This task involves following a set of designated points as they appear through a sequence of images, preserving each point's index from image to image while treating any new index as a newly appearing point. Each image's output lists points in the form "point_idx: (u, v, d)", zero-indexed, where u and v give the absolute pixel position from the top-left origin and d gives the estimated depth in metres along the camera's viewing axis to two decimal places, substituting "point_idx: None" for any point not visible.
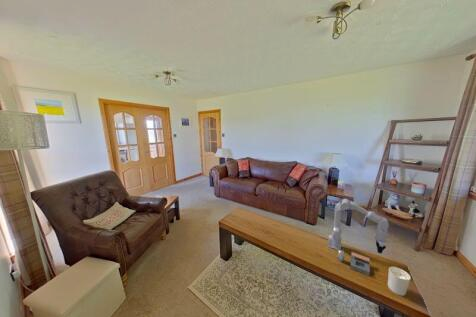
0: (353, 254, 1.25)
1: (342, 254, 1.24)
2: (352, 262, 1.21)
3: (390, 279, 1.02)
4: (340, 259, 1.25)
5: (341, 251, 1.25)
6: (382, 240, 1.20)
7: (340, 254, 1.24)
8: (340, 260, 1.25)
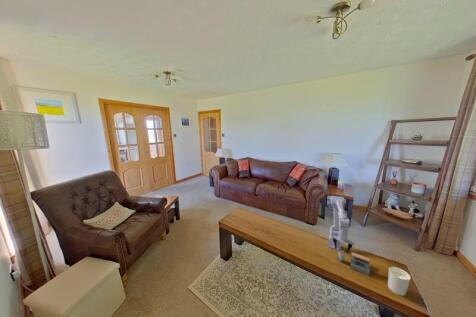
0: (353, 254, 1.25)
1: (342, 254, 1.24)
2: (352, 262, 1.21)
3: (390, 279, 1.02)
4: (340, 259, 1.25)
5: (341, 251, 1.25)
6: (338, 237, 1.25)
7: (340, 254, 1.24)
8: (340, 260, 1.25)
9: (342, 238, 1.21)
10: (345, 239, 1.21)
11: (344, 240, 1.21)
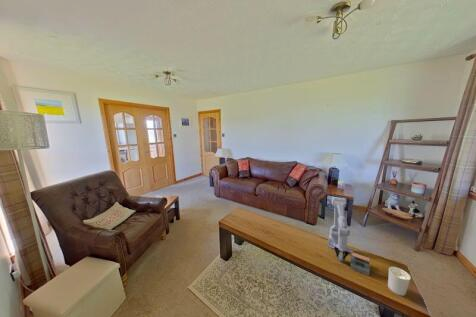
0: (353, 254, 1.25)
1: (342, 254, 1.24)
2: (352, 262, 1.21)
3: (390, 279, 1.02)
4: (340, 259, 1.25)
5: (341, 251, 1.25)
6: (337, 245, 1.26)
7: (340, 254, 1.24)
8: (340, 260, 1.25)
9: (341, 246, 1.22)
10: (344, 247, 1.22)
11: (343, 248, 1.22)
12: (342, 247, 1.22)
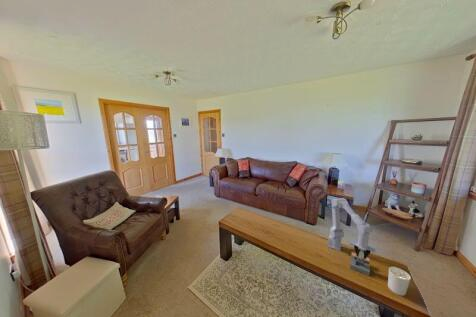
0: (353, 254, 1.25)
1: (363, 253, 1.16)
2: (352, 262, 1.21)
3: (390, 279, 1.02)
4: (360, 259, 1.17)
5: (361, 250, 1.17)
6: (357, 243, 1.18)
7: (361, 253, 1.16)
8: (360, 260, 1.17)
9: (362, 244, 1.14)
10: (365, 245, 1.14)
11: (364, 247, 1.14)
12: (363, 246, 1.14)
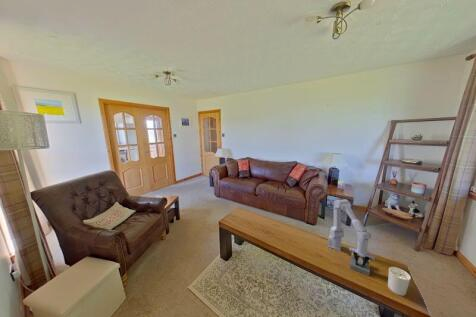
0: None
1: (362, 260, 1.16)
2: (352, 262, 1.21)
3: (390, 279, 1.02)
4: (360, 265, 1.17)
5: (361, 256, 1.18)
6: (357, 250, 1.18)
7: (360, 260, 1.17)
8: (360, 266, 1.17)
9: (361, 251, 1.15)
10: (365, 252, 1.14)
11: (363, 253, 1.15)
12: (362, 252, 1.15)
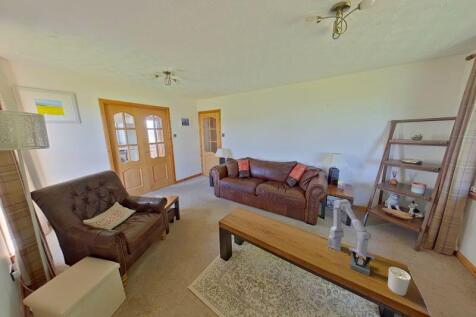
0: None
1: (362, 261, 1.17)
2: (352, 262, 1.21)
3: (390, 279, 1.02)
4: (360, 266, 1.18)
5: (361, 257, 1.18)
6: (357, 250, 1.18)
7: (360, 261, 1.17)
8: None
9: (361, 251, 1.15)
10: (365, 252, 1.14)
11: (363, 253, 1.15)
12: (362, 252, 1.15)
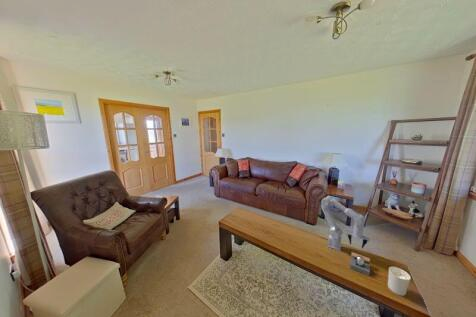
0: (353, 254, 1.25)
1: (362, 261, 1.17)
2: (352, 262, 1.21)
3: (390, 279, 1.02)
4: None
5: (360, 258, 1.18)
6: (353, 233, 1.29)
7: (360, 261, 1.17)
8: None
9: (357, 234, 1.25)
10: (360, 235, 1.25)
11: (359, 236, 1.25)
12: (358, 235, 1.25)
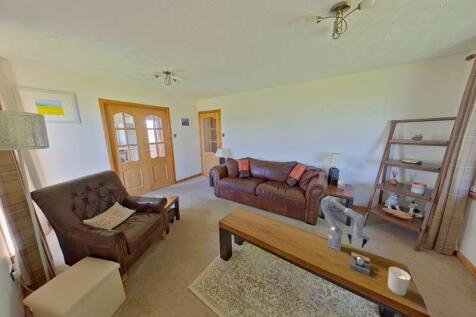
0: (353, 254, 1.25)
1: (362, 261, 1.16)
2: (352, 262, 1.21)
3: (390, 279, 1.02)
4: None
5: (360, 258, 1.18)
6: (353, 233, 1.29)
7: (360, 261, 1.17)
8: None
9: (357, 234, 1.26)
10: (360, 235, 1.25)
11: (359, 235, 1.25)
12: (358, 235, 1.26)
